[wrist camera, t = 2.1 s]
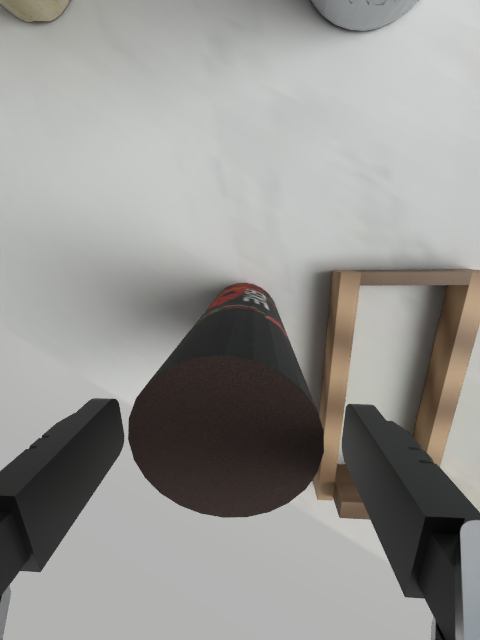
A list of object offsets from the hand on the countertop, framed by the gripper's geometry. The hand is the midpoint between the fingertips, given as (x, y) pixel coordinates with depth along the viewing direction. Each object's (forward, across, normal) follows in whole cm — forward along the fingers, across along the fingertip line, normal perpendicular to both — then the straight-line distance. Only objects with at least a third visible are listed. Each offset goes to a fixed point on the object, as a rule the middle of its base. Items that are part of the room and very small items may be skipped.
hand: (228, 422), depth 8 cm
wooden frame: (+14, -13, +7) cm, 20 cm away
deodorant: (+14, 0, 0) cm, 14 cm away
